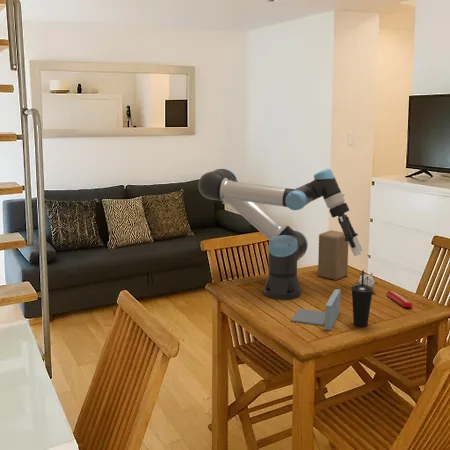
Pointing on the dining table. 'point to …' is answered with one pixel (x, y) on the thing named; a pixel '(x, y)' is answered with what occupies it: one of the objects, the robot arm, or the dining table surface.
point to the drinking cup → (361, 303)
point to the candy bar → (399, 299)
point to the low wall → (332, 309)
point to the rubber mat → (309, 317)
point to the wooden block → (332, 255)
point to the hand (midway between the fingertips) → (358, 253)
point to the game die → (367, 280)
